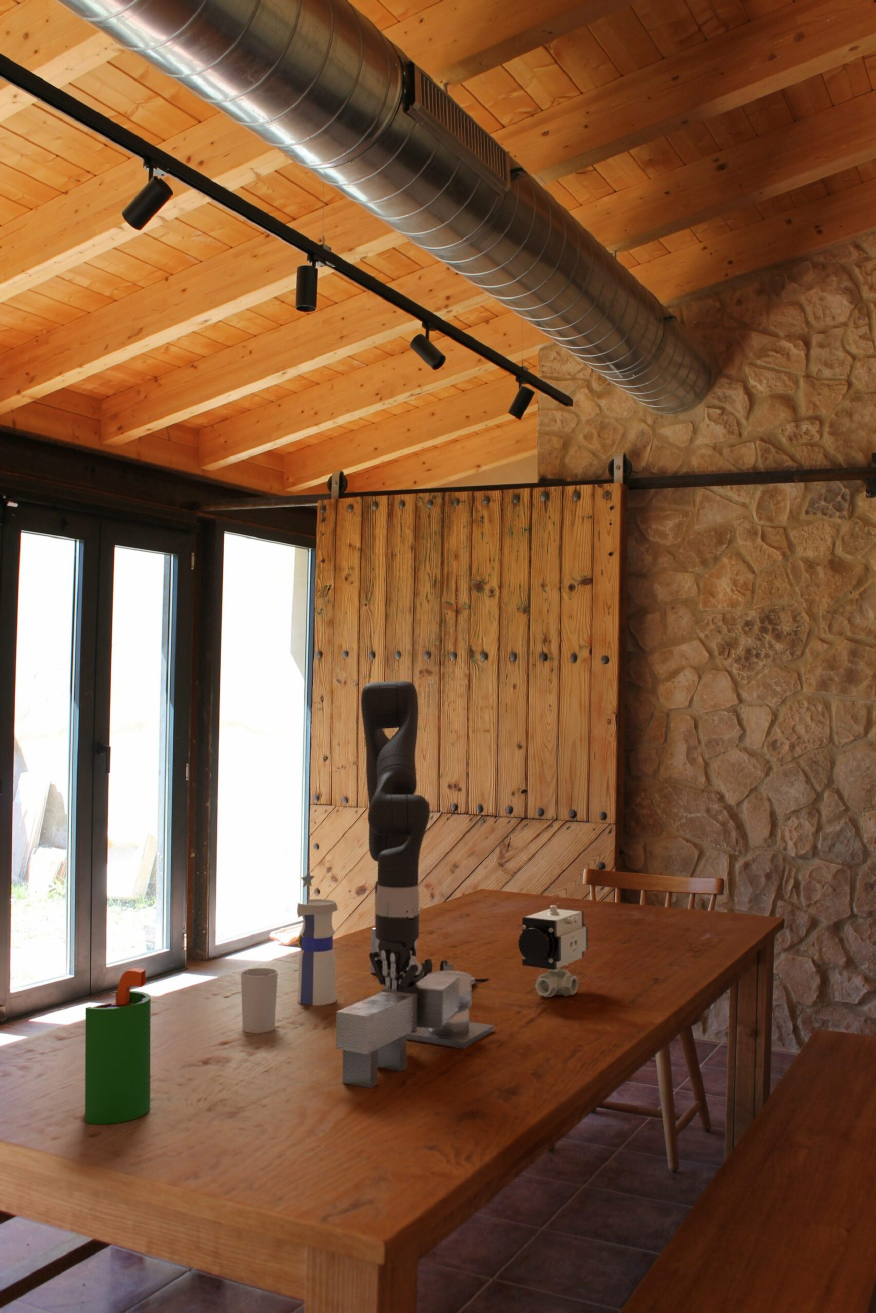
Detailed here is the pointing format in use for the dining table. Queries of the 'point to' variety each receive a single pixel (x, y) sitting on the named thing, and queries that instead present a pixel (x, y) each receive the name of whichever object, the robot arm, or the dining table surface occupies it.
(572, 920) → the ball valve
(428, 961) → the bike brake
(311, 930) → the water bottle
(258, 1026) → the white cup
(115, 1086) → the green container with spout
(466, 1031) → the duct stub
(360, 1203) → the dining table surface
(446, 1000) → the elbow
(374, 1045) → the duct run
